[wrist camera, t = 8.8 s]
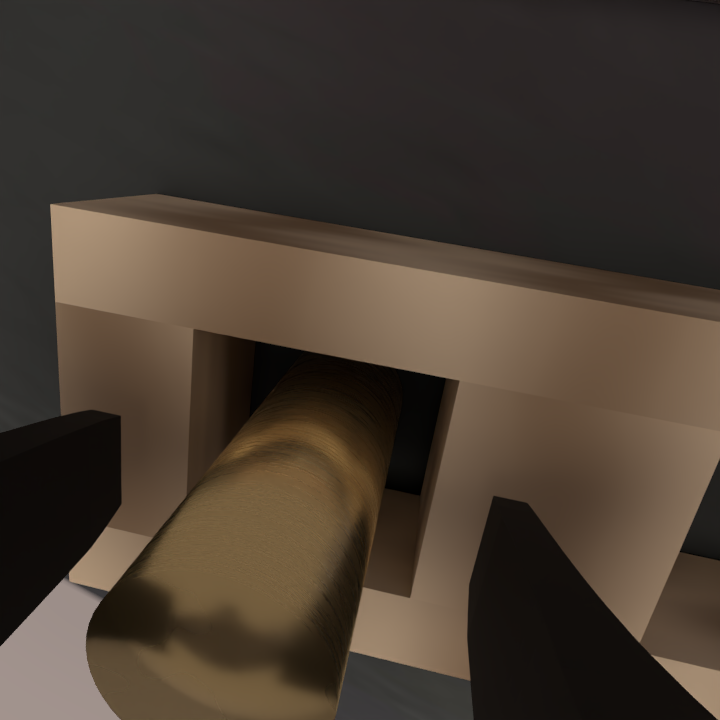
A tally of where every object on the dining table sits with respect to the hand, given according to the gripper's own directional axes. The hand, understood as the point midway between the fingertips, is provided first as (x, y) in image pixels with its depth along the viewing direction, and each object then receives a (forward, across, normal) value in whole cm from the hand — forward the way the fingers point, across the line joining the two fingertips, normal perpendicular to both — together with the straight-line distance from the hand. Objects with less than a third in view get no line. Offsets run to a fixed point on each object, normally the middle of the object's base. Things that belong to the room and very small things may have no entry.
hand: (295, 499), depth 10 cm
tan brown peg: (+5, 0, 0) cm, 5 cm away
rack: (+5, -5, 0) cm, 7 cm away
